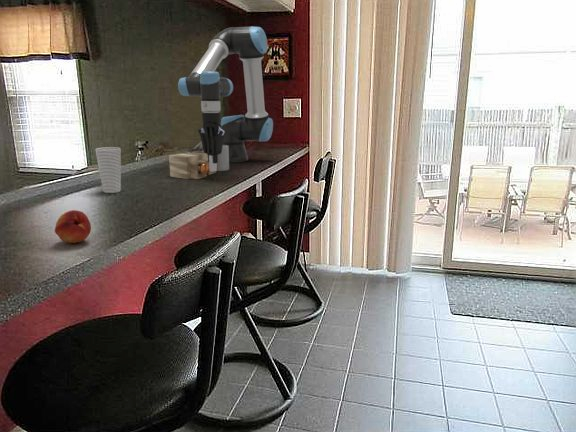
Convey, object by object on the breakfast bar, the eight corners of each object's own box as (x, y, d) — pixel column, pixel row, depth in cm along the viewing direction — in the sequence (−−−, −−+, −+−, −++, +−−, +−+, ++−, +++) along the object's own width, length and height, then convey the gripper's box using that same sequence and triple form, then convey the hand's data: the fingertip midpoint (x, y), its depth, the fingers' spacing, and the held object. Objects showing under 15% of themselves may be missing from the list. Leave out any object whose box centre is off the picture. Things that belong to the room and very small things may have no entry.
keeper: (199, 151, 209) (197, 148, 209) (213, 139, 202) (212, 135, 203) (192, 152, 205) (190, 149, 205) (206, 140, 199) (204, 136, 199)
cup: (100, 194, 163) (95, 150, 159) (98, 190, 171) (94, 147, 167) (125, 192, 167) (122, 149, 163) (123, 188, 174) (119, 146, 170)
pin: (182, 170, 204) (181, 159, 203) (211, 174, 195) (210, 162, 194) (174, 171, 200) (173, 160, 199) (203, 175, 191) (202, 164, 190)
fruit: (56, 249, 107) (52, 216, 105) (56, 240, 114) (52, 208, 112) (93, 245, 110) (89, 212, 108) (91, 236, 117) (87, 205, 115)
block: (199, 170, 213) (198, 146, 210) (222, 173, 206) (221, 149, 203) (170, 176, 198) (168, 151, 195) (193, 179, 191) (192, 153, 188)
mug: (231, 168, 219) (230, 145, 216) (225, 171, 211) (225, 147, 208) (207, 167, 221) (206, 144, 219) (200, 170, 213) (199, 146, 210)
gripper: (192, 112, 185) (195, 170, 191) (217, 112, 178) (219, 173, 184) (205, 111, 191) (207, 168, 197) (229, 112, 184) (231, 171, 190)
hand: (213, 171), depth 191 cm, fingers closed
